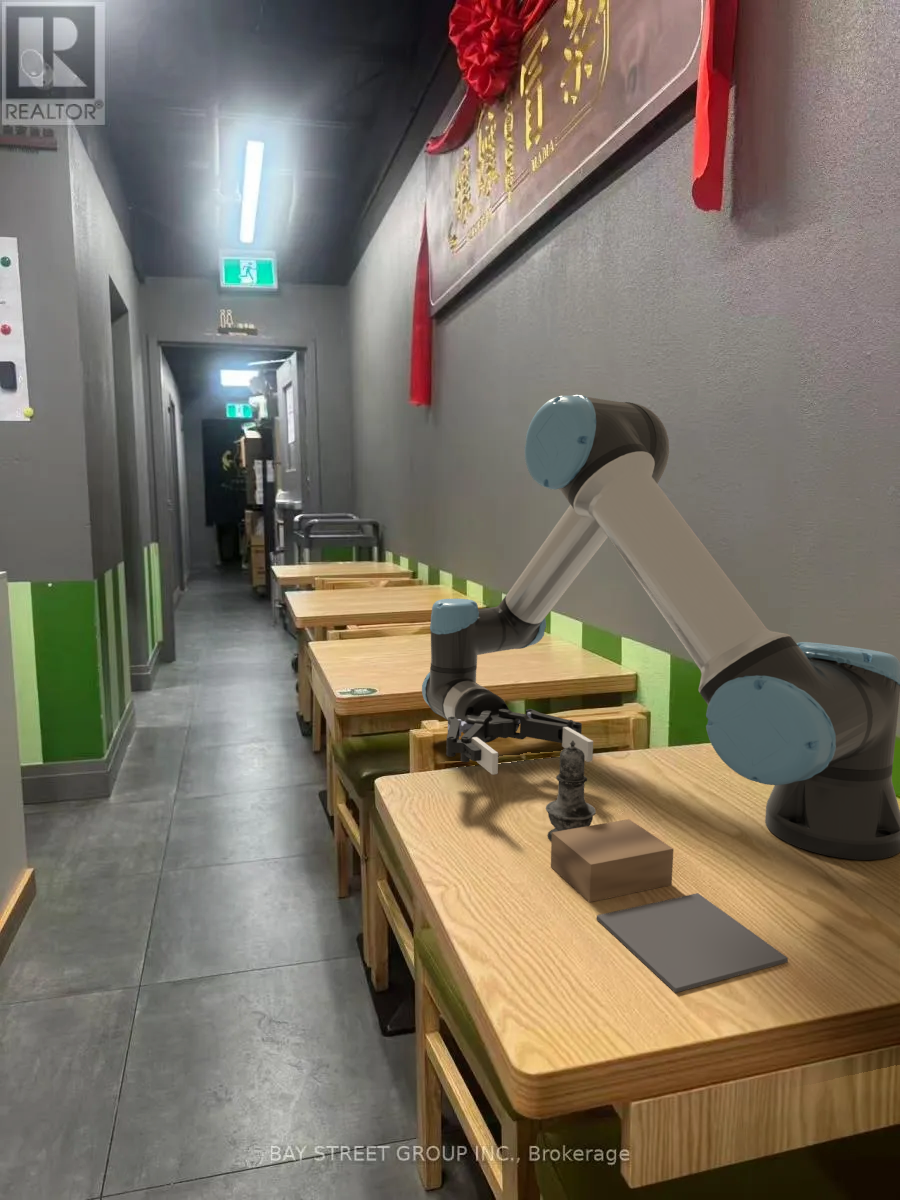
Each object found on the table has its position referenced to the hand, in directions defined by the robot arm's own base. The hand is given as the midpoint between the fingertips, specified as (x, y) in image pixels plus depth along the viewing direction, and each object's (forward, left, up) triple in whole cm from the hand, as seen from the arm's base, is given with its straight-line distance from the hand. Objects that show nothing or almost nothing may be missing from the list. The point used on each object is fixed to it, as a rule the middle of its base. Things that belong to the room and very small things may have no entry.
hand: (544, 757), depth 99 cm
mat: (-18, +24, -8) cm, 31 cm away
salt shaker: (-4, +6, -8) cm, 11 cm away
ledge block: (-10, +14, -7) cm, 19 cm away
